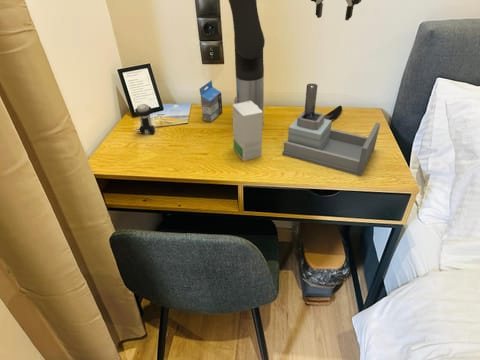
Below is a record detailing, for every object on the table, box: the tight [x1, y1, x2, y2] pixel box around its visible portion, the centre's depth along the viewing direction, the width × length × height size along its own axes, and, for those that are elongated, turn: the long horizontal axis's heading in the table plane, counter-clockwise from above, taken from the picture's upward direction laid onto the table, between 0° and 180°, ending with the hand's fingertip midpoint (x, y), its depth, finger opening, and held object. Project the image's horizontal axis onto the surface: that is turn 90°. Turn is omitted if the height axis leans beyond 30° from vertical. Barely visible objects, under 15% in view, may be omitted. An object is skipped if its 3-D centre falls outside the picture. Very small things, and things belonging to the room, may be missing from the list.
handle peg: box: [303, 83, 318, 121], centre depth 101 cm, size 3×3×12 cm
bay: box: [281, 122, 381, 177], centre depth 104 cm, size 24×16×9 cm, turn 60°
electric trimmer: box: [324, 105, 343, 121], centre depth 123 cm, size 4×16×3 cm, turn 140°
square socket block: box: [287, 109, 333, 150], centre depth 106 cm, size 10×10×10 cm
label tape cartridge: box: [199, 80, 223, 123], centre depth 125 cm, size 9×4×12 cm, turn 155°
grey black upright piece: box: [134, 104, 156, 136], centre depth 117 cm, size 7×5×10 cm
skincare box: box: [232, 101, 264, 162], centre depth 103 cm, size 8×7×16 cm
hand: (333, 18), depth 102 cm, fingers open, 8 cm apart
